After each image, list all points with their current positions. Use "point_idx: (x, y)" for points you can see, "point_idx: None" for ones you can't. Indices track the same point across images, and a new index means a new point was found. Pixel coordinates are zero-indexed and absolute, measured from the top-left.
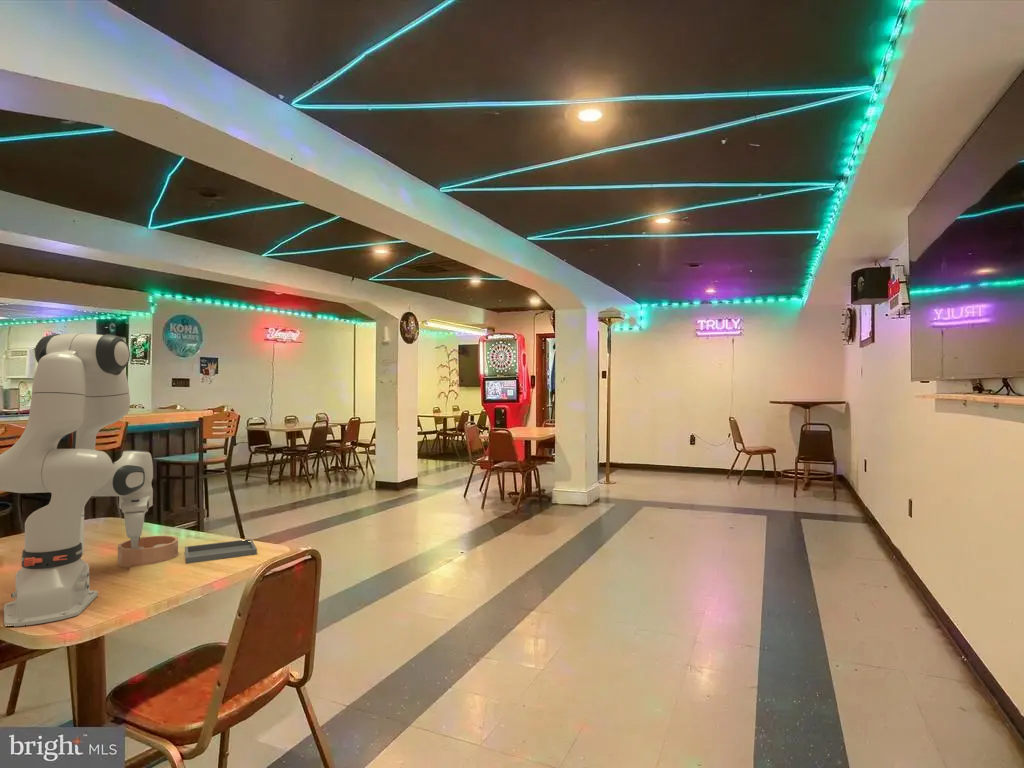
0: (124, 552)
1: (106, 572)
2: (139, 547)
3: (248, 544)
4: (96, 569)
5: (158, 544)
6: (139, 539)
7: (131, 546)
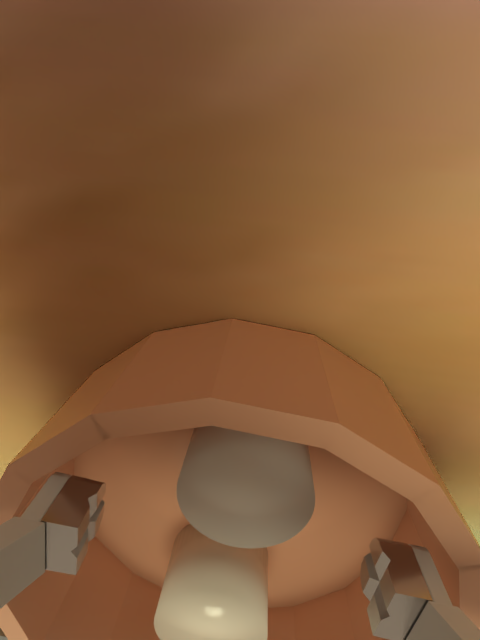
0: (81, 407)
1: (59, 222)
2: (261, 525)
3: None
4: (199, 164)
5: (263, 626)
6: (370, 599)
7: (36, 497)
